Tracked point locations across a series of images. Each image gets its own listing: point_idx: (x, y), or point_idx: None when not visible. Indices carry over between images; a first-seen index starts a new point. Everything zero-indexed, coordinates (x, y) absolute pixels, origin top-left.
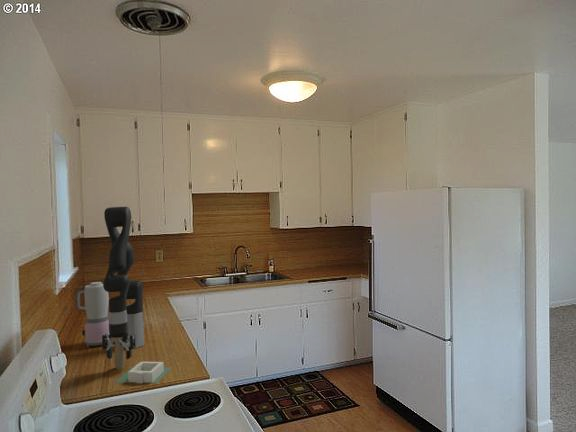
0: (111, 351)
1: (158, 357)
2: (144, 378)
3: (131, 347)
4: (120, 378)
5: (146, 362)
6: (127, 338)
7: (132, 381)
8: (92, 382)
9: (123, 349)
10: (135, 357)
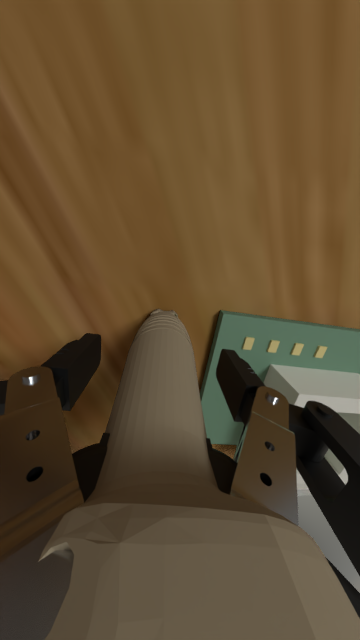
0: (78, 370)
1: (341, 134)
2: None
3: (303, 459)
4: (205, 421)
5: (327, 405)
6: (343, 584)
7: None
8: (106, 420)
9: (198, 391)
10: (185, 102)
